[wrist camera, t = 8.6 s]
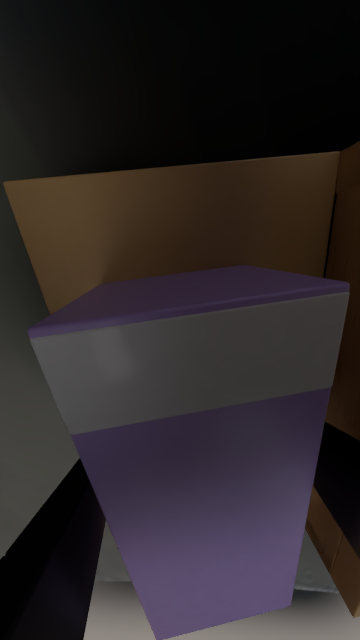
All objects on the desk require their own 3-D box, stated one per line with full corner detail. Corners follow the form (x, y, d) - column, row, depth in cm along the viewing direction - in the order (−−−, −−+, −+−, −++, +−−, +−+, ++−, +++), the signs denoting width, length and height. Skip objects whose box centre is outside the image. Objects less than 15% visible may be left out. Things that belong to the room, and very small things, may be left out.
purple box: (155, 504, 11) (155, 643, 7) (99, 283, 7) (21, 330, 3) (245, 484, 11) (292, 607, 7) (245, 264, 7) (356, 281, 3)
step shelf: (136, 477, 15) (118, 682, 8) (59, 206, 9) (-368, 15, 2) (334, 437, 16) (475, 584, 9) (391, 173, 10) (995, -23, 3)
